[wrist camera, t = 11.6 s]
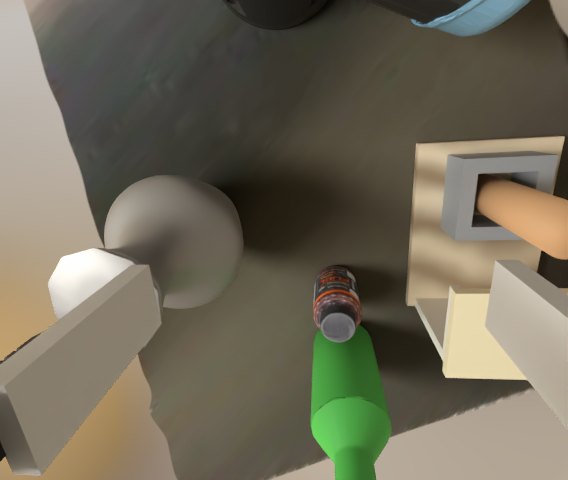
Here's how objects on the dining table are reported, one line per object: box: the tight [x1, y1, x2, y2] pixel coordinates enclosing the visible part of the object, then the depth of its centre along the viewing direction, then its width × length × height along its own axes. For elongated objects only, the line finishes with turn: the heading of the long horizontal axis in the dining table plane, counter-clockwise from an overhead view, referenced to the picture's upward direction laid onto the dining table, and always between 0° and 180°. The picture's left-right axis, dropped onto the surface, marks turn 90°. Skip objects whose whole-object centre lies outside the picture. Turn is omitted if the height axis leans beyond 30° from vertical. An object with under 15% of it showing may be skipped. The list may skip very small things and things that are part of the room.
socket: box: [440, 151, 559, 241], centre depth 39 cm, size 9×9×5 cm
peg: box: [474, 173, 568, 259], centre depth 34 cm, size 4×4×16 cm
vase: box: [48, 175, 244, 348], centre depth 35 cm, size 14×14×25 cm
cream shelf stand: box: [415, 286, 568, 380], centre depth 38 cm, size 10×15×14 cm, turn 93°
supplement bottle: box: [313, 266, 362, 342], centre depth 43 cm, size 6×6×11 cm
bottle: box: [311, 325, 391, 480], centre depth 40 cm, size 9×9×25 cm
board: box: [405, 136, 565, 306], centre depth 43 cm, size 22×16×1 cm
